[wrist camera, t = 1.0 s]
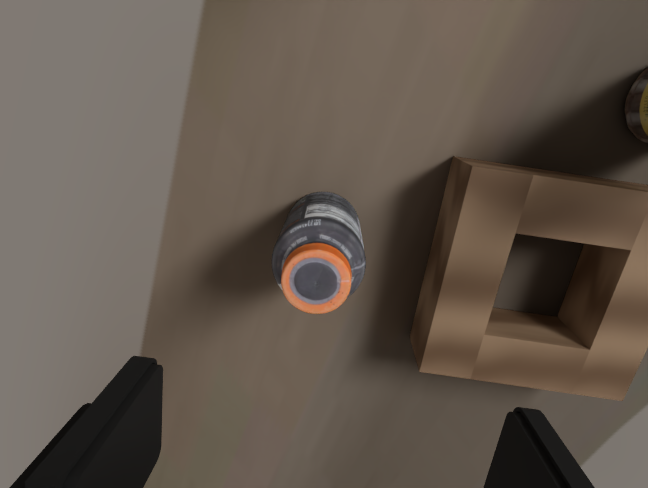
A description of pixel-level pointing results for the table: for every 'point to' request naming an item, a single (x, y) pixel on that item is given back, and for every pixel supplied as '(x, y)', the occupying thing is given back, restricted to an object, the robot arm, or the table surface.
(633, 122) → the sauce bottle
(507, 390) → the table surface
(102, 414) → the robot arm
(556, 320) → the socket block
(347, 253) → the pill bottle
